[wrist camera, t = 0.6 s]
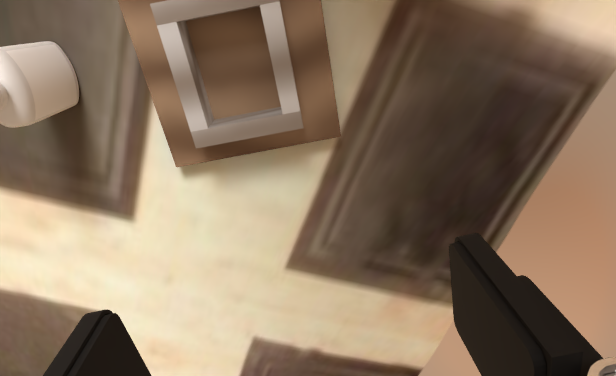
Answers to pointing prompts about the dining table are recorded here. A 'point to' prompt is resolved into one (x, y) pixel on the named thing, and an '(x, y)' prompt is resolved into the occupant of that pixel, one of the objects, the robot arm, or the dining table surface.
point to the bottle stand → (235, 74)
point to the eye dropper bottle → (35, 83)
